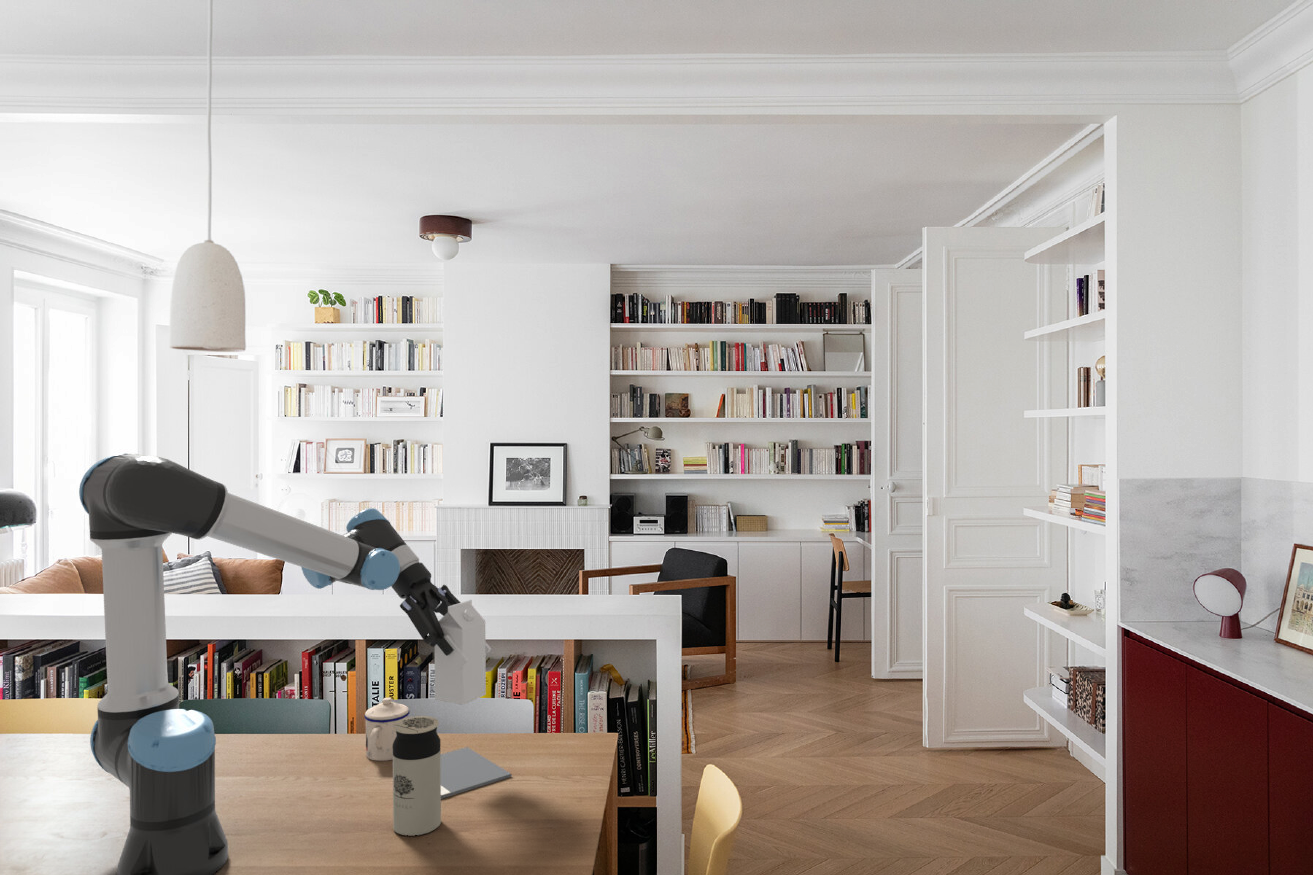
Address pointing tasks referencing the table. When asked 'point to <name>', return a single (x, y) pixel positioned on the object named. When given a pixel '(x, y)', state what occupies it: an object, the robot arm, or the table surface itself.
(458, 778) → the mat
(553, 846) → the table surface
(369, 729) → the teacup with lid
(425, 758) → the travel mug
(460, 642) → the milk carton
